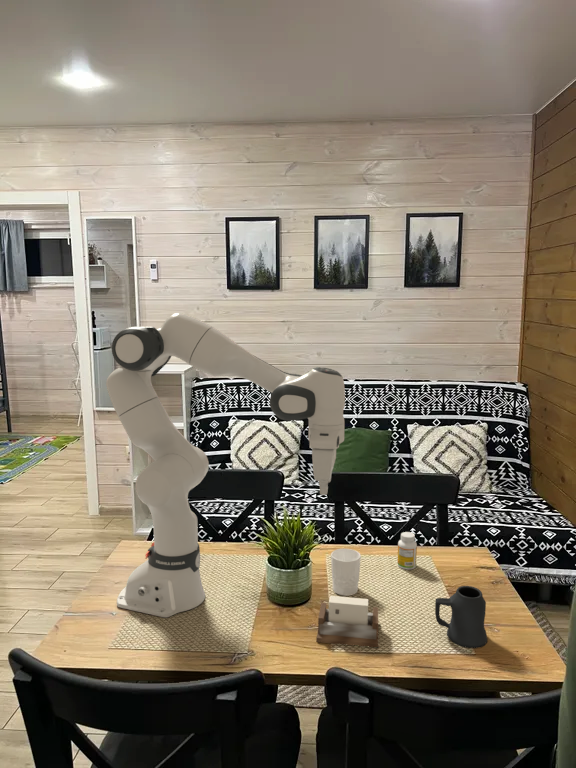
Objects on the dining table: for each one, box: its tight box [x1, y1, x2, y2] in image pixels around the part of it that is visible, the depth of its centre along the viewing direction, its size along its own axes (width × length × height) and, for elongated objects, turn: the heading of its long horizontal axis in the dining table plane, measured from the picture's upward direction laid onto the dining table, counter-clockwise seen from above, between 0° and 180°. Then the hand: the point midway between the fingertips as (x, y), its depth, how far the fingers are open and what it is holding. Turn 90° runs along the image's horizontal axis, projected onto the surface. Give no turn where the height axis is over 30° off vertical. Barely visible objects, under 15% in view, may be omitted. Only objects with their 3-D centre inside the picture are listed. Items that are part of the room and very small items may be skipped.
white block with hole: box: [328, 595, 369, 626], centre depth 135 cm, size 9×4×7 cm, turn 81°
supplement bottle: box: [397, 531, 418, 571], centre depth 169 cm, size 5×5×10 cm
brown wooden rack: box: [316, 602, 380, 648], centre depth 136 cm, size 14×10×5 cm
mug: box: [434, 585, 488, 649], centre depth 134 cm, size 12×9×11 cm
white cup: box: [330, 548, 362, 597], centre depth 155 cm, size 8×8×10 cm
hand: (325, 487), depth 144 cm, fingers open, 8 cm apart
